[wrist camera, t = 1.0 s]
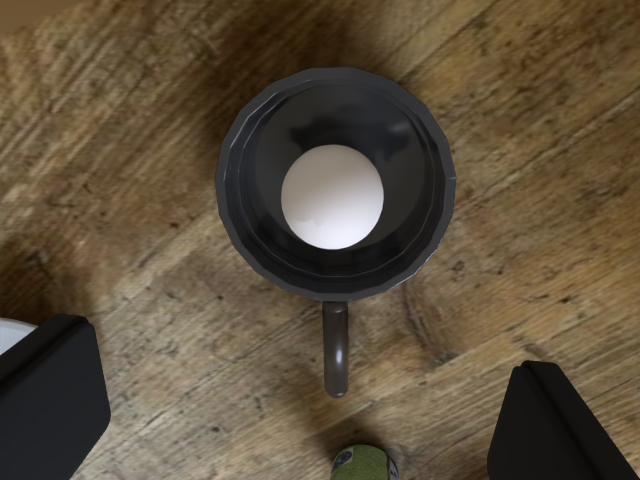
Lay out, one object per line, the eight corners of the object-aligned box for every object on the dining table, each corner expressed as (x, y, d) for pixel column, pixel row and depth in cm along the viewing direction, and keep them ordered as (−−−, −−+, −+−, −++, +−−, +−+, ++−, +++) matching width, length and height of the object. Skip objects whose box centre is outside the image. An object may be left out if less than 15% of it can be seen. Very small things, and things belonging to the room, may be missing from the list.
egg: (375, 228, 28) (381, 277, 20) (290, 221, 28) (267, 267, 21) (385, 140, 25) (395, 161, 18) (292, 134, 26) (267, 153, 19)
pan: (223, 73, 25) (200, 71, 21) (451, 65, 24) (468, 62, 20) (245, 272, 30) (229, 299, 26) (433, 275, 29) (444, 304, 25)
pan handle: (322, 287, 28) (320, 300, 26) (348, 288, 27) (347, 301, 26) (325, 385, 31) (323, 403, 29) (348, 387, 31) (348, 404, 29)
